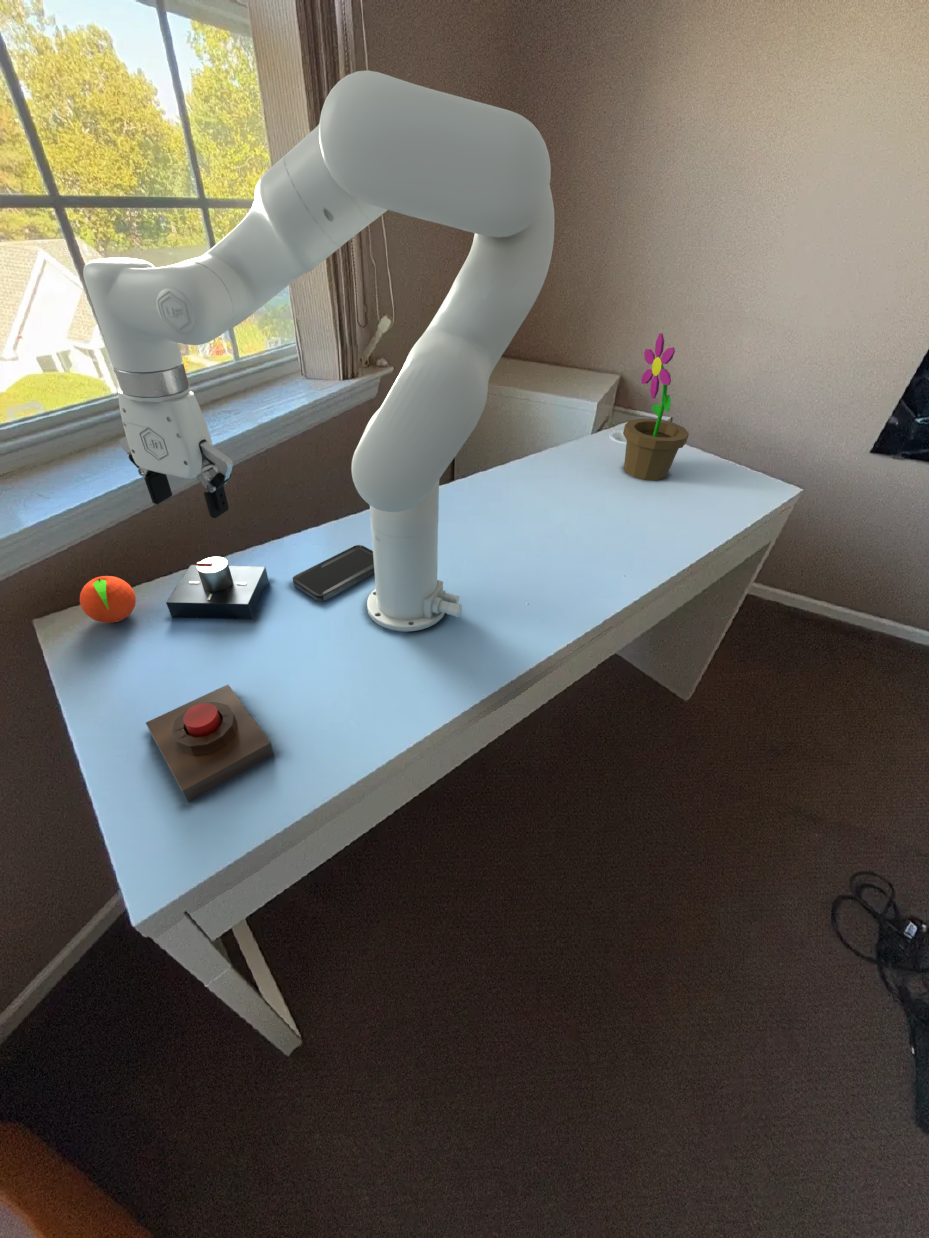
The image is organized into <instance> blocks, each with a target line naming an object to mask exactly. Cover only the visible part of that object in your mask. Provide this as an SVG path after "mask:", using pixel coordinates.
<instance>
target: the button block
mask: <svg viewBox="0 0 929 1238" xmlns="http://www.w3.org/2000/svg"><path fill="white" fill-rule="evenodd" d="M202 703H209V704H212V705H214V706H215V707H216V708H217V711H218V713H219V716H220V719H221V723H220V726H219V728H218V729H217V730H216V731H215V732H213V733H211V734H209V735H207V736H204V737H194V736H192V735H190V734H189V733H188V731H187V728H186V726H185V724H184V721H183V717H184V715H185V713H186V712H187V711H188V710H189V709H190V708H191V707H193V706H195V705H198V704H202ZM145 725H146V727H147V729H148V731H149V733H150V735H151V736H152V739H153V741H154V742H155V744H156V746H157V749H159V751H160V753H161V755H162V757H163V759H164V760H165V762H166V765H167V767H168V768H169V770H170V772H171V774H172V775H173V778H174V779H175V781H176V783H177V785H178V787H179V789H180V790H181V792H182V795H183V797H184V798H185V800H186V802H187V803H190V802H192V801H193V800H195V799H197V798H199V797H200V796H202V795H204V794H206V793H208V792H210V791H211V790H213V789H215V788H216V787H218V786H221V785H223V784H224V783H225V782H228V781H229V780H231V779H232V778H234V777H236V776H238V775H240V774H242V773H243V772H245V771H247V770H249V769H251V768H252V767H254V766H256V765H258V764H260V763H261V762H263V761H265V760H266V759H268V758H271V757H272V756H274V755H275V752H274V748H273V745H272V743H271V741H270V739H269V738H268V737H267V736H266V734H265V732H264V731H263V730H262V728H261V727H260V726H259V724H258V722H256V720H255V719H254V718H253V716H252V715H251V713H250V712H249V711H248V709H247V708H246V707H245V705H244V704H243V703H242V700H240V698H239V697H238V695H237V694H236V693H235V691H234V690H233V689H232V687H231V686H230V684H226V685H224V686H221V687H220V688H217V689H214V690H213V691H211V692H208V693H207V694H204V695H201V696H199V697H197V698H195V699H193V700H192V701H189V702H187V703H185V704H183V705H180V706H178V707H176V708H174V709H172V710H170V711H167V712H166V713H163V714H161V715H159V716H157V717H155V718H153V719H151V720H148V721H146V722H145Z"/></svg>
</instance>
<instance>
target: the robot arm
mask: <svg viewBox="0 0 929 1238" xmlns="http://www.w3.org/2000/svg"><path fill="white" fill-rule="evenodd" d="M551 173H552V166H551V158H550V153H549V151H548V147H547V144H546V141H545V140H544V138H543V136H542V134H541V132H540V131H539V129H537V127H536V126H535V125H534V123H532V122H531V121H530V120H529V119H528V118H526V117H524V116H523V115H521V114H519V113H517V112H515V111H513V110H509V109H506V108H502V107H499V106H495V105H491V104H488V103H483V102H481V101H477V100H473V99H469V98H465V97H462V96H458V95H454V94H451V93H447V92H444V91H440V90H436V89H432V88H430V87H426V86H422V85H419V84H416V83H413V82H410V81H406V80H403V79H400V78H397V77H394V76H392V75H389V74H385V73H382V72H379V71H373V70H370V69H369V70H357V71H354V72H351V73H349V74H347V75H345V76H344V77H343V78H342V79H340V80H339V81H337V83H336V84H335V85H334V86H333V87H332V89H330V91H329V93H328V95H327V96H326V98H325V100H324V103H323V106H322V109H321V111H320V117H319V123H318V124H317V126H316V127H314V128H313V130H311V131H310V132H309V133H308V134H307V135H305V137H303V138H302V139H301V140H300V141H299V142H298V143H297V144H296V145H295V146H294V147H292V148H291V149H290V150H289V151H288V152H287V153H285V154H284V155H283V156H282V157H281V158H280V159H279V160H277V162H276V163H274V164H273V165H272V166H271V167H270V168H268V169H267V170H266V171H265V172H264V173H263V174H262V175H261V176H260V177H259V179H258V181H257V182H256V185H255V188H254V201H253V202H252V206H251V208H250V209H249V211H248V213H247V214H246V215H245V216H244V218H243V219H242V220H241V221H240V222H239V223H238V224H237V225H236V226H235V227H234V228H233V229H232V230H231V231H230V232H229V233H228V234H226V235H225V236H224V237H223V238H221V240H220V241H218V242H217V243H216V244H215V245H214V246H213V247H211V248H210V249H209V250H208V251H206V252H205V253H204V254H202V255H201V256H197V257H194V258H189V259H186V260H183V261H180V262H178V263H174V264H170V265H166V266H159V267H155V265H154V264H153V263H150V261H146V260H144V259H139V258H131V257H105V258H97V259H92V260H89V261H88V262H86V263H85V265H84V266H83V271H82V272H83V280H84V283H85V287H86V290H87V292H88V296H89V299H90V302H91V304H92V308H93V310H94V313H95V316H96V319H97V322H98V325H99V328H100V332H101V333H102V337H103V340H104V343H105V346H106V350H107V352H108V355H109V358H110V360H111V364H112V366H113V373H114V374H115V377H116V379H117V382H118V384H119V388H120V389H119V390H118V391H117V393H118V394H117V395H118V396H117V397H118V406H119V412H120V418H121V422H122V427H123V430H124V434H125V436H124V437H122V438H120V439H119V440H118V444H119V445H120V446H121V448H122V449H123V450H124V452H125V453H126V454H127V455H128V460H129V461H130V462H131V463H132V464H133V465H134V467H136V468H137V472H138V475H139V476H140V477H142V478H143V480H144V482H145V485H146V488H147V490H148V494H149V496H150V499H151V502H152V504H154V505H159V504H161V503H163V502H164V501H166V500H168V499H169V498H171V497H172V496H173V491H172V488H171V485H170V482H169V479H168V476H171V477H176V478H181V479H186V480H192V479H193V480H194V479H197V480H198V482H200V484H201V485H202V486H203V487H204V488H205V489H206V490H204V491H203V496H204V499H205V503H206V507H207V510H208V514H209V516H210V518H212V519H217V518H219V517H220V516H222V515H223V514H225V513H226V512H228V511H229V508H230V507H229V502H228V499H227V494H226V490H225V487H224V486H226V485H227V484H228V481H229V480H230V479H231V477H232V471H233V467H234V460H233V459H232V458H230V457H229V456H228V455H226V454H225V453H223V452H222V451H221V450H219V449H218V448H216V447H214V444H213V441H212V437H211V434H210V431H209V428H208V425H207V422H206V419H205V417H204V414H203V412H202V409H201V406H200V404H199V402H198V400H197V397H196V395H195V393H194V391H191V387H190V384H189V380H188V376H187V372H186V369H185V364H184V361H183V357H182V353H181V349H180V345H179V344H181V345H182V344H183V345H188V346H200V345H206V344H208V343H210V342H211V341H213V340H215V339H217V338H219V337H220V336H222V335H223V334H225V333H226V332H228V331H229V330H231V329H233V328H235V327H237V326H238V325H240V324H242V323H243V322H244V321H246V320H247V319H249V317H251V316H252V315H253V314H254V313H256V312H257V311H258V310H259V309H261V308H262V307H263V306H264V305H265V304H267V303H268V302H269V301H271V300H272V299H274V297H276V296H277V295H278V294H280V293H281V292H282V291H283V290H285V289H286V288H287V287H288V286H289V285H291V284H292V283H293V282H295V281H296V280H297V279H298V278H300V277H301V276H303V275H305V274H307V273H310V272H311V271H313V270H314V269H315V268H316V267H317V266H319V265H320V264H321V263H323V262H324V261H325V260H326V259H328V258H329V257H330V256H332V255H333V254H334V253H335V252H336V251H337V250H339V249H340V248H341V247H343V246H344V245H345V244H346V243H348V242H349V241H350V240H351V239H352V238H354V237H355V236H356V235H357V234H359V233H360V232H361V231H363V230H364V229H365V228H367V227H368V226H369V225H371V224H372V223H373V222H375V221H376V220H378V219H379V218H380V217H381V216H382V215H383V214H385V213H386V212H387V211H391V212H394V213H397V214H400V215H404V216H407V217H411V218H415V219H419V220H424V221H426V222H431V223H435V224H438V225H442V226H447V227H449V228H454V229H457V230H461V231H464V232H469V233H472V234H474V236H473V239H472V240H473V241H472V244H471V247H470V250H469V253H468V255H467V257H466V259H465V261H464V263H463V265H462V266H461V268H460V270H459V272H458V273H457V275H456V277H455V278H454V281H453V283H452V285H451V287H450V289H449V292H448V293H447V295H446V296H445V298H444V300H443V301H442V303H441V305H440V307H439V308H438V310H437V312H436V313H435V315H434V317H433V318H432V320H431V322H430V323H429V325H428V326H427V328H426V329H425V331H424V332H423V333H422V335H421V336H420V337H419V338H418V340H417V341H416V342H415V344H414V345H413V346H412V347H411V349H410V351H409V352H408V355H407V357H406V359H405V360H404V361H405V362H404V363H403V366H402V368H401V369H400V372H399V373H398V375H397V377H396V379H395V381H394V382H393V384H392V386H391V388H390V390H389V391H388V393H387V395H386V397H385V398H384V400H383V402H382V404H381V406H380V407H379V408H378V409H377V410H376V411H375V412H374V413H373V415H372V416H371V417H370V419H369V421H368V422H367V424H366V425H365V429H363V432H362V435H361V437H360V439H359V442H358V444H357V446H356V447H355V450H354V452H353V455H352V459H351V466H350V467H351V468H350V469H351V477H352V482H353V484H354V487H355V489H356V491H357V494H358V495H359V496H360V498H361V499H362V500H363V501H364V502H365V503H367V504H368V505H369V515H370V530H371V531H370V532H371V545H372V551H373V559H374V572H375V573H374V582H375V583H374V585H375V588H374V589H373V590H372V591H371V592H370V593H369V595H368V597H367V601H366V609H367V613H368V615H369V618H370V619H371V620H372V621H373V622H374V623H376V624H377V625H378V626H381V627H383V628H385V629H388V630H391V631H396V632H416V631H422V630H424V629H427V628H431V627H432V626H434V625H436V624H437V623H438V622H440V621H441V620H442V619H443V618H444V616H445V614H447V615H448V616H453V617H457V618H459V617H460V616H461V615H462V609H463V605H462V604H460V603H459V602H460V595H458V594H454V593H449V592H446V590H444V581H443V580H439V579H438V556H439V555H438V553H439V552H438V549H439V548H438V546H439V545H438V543H439V511H440V510H439V509H440V507H439V505H440V504H439V502H440V501H439V499H440V479H441V477H442V476H443V474H444V473H445V472H446V470H447V469H448V467H449V466H450V465H451V464H452V462H453V460H454V459H455V458H456V456H457V455H458V453H459V452H460V451H461V449H462V448H463V446H464V445H465V443H466V442H467V440H469V438H470V437H471V435H472V433H473V431H474V430H475V428H476V427H477V425H478V423H479V421H480V419H481V417H482V415H483V412H484V411H485V408H486V404H487V399H488V393H489V381H490V378H491V375H492V373H493V371H494V370H495V367H496V366H497V364H498V363H499V361H500V359H501V357H502V356H503V355H504V353H505V351H506V350H507V348H508V347H509V346H510V344H511V342H512V341H513V339H514V337H515V336H516V334H517V332H518V331H519V329H520V327H521V326H522V325H523V323H524V321H525V319H526V318H527V316H528V315H529V313H530V312H531V310H532V308H533V306H534V304H535V303H536V301H537V299H538V297H539V296H540V295H539V294H541V293H540V292H541V291H542V288H543V286H544V283H545V282H546V281H545V280H546V278H547V276H548V272H549V269H550V264H551V261H552V255H553V251H554V250H553V249H554V242H555V241H554V240H555V206H554V199H553V194H552V190H551V185H550V184H551V180H552V179H551V178H552V177H551V176H552V175H551ZM207 472H208V474H209V475H210V476H211V477H212V478H211V479H210V478H209V476H207V474H206V473H207Z"/></svg>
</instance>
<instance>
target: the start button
mask: <svg viewBox="0 0 929 1238" xmlns="http://www.w3.org/2000/svg"><path fill="white" fill-rule="evenodd" d="M183 721H184V724H185V726H186V728H187V731H188V733H189V734H190V735H192V736H194V737H204V736H207V735H209V734H211V733H213V732H215V731H216V730H217V729H218V728H219V726H220V723H221V719H220V716H219V713H218V711H217V708H216V707H215V706H214V705H212V704H209V703H202V704H198V705H195V706H193V707H191V708H190V709H189V710H188V711H187V712H186V713H185V715H184V717H183Z"/></svg>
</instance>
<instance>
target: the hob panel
mask: <svg viewBox="0 0 929 1238" xmlns="http://www.w3.org/2000/svg"><path fill="white" fill-rule="evenodd" d="M229 568H230V572H231V576H232V579H233V583H232V585H231V586H230V587H228V588H227V589H225V590H222V591H217V592H211V591H207V590H205V589H204V588H203V586H202V583H201V580H200V576H199V573H198V570H197V564H191V565H189V567H188V568H187V569H186V571H185V573H184V574H183V576H182V577H181V579H180V580H179V582H178V583H177V585H176V587H175V588H174V590H173V591H172V593H171V594H170V595H169V597H168V599H167V600H166V601H165V604H166V607H167V609H168V612H169V614H170V617H171V618H172V619H202V620H203V619H206V620H207V619H211V620H253V619H254V618H253V617H255V613H256V611H257V609H258V607H259V604H260V603H261V600H262V598H263V596H264V594H265V591H266V589H267V586H268V584H269V582H270V581H269V576H268V572H267V567H266V566H255V565H254V566H251V565H247V566H246V565H229Z"/></svg>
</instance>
